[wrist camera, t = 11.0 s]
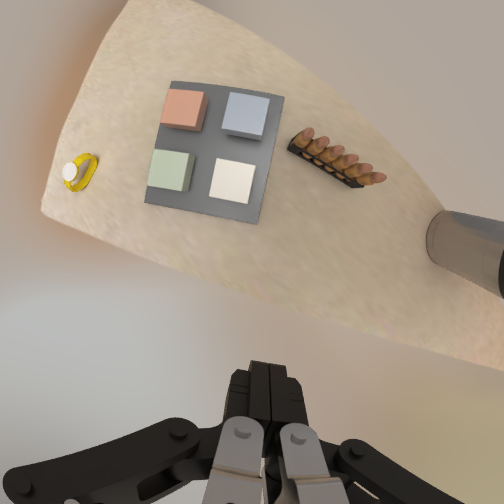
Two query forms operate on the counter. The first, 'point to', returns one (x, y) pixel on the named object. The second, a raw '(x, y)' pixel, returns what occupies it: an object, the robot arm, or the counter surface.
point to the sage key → (170, 170)
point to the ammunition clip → (334, 160)
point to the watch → (72, 172)
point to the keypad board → (218, 155)
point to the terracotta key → (184, 109)
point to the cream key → (232, 180)
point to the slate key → (245, 116)
